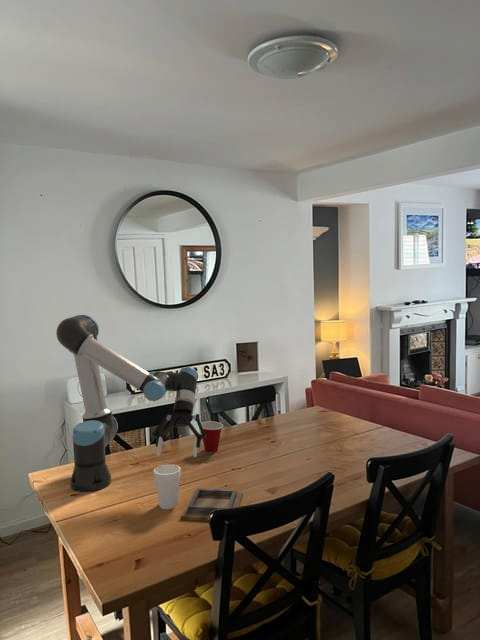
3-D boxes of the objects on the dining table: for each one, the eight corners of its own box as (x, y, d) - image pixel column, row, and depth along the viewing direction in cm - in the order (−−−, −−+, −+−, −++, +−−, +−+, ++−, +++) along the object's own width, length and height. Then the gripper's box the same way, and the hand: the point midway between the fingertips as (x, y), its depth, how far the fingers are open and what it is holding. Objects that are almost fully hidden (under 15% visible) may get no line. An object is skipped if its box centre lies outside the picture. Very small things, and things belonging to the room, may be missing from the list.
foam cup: (184, 499, 189) (183, 464, 187) (179, 511, 180) (177, 474, 178) (158, 498, 190) (157, 464, 188) (151, 510, 180) (150, 474, 179)
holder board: (180, 519, 174) (180, 510, 173) (194, 493, 193) (194, 484, 193) (234, 522, 171) (234, 512, 171) (242, 495, 191) (242, 486, 191)
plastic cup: (220, 454, 232) (220, 428, 230) (197, 453, 234) (196, 427, 233) (226, 446, 242) (225, 421, 241) (203, 445, 244) (202, 420, 243)
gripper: (217, 409, 207) (211, 460, 194) (155, 408, 210) (145, 458, 197) (214, 399, 201) (208, 451, 188) (150, 398, 204) (140, 450, 191)
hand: (176, 455), depth 192 cm, fingers open, 13 cm apart
